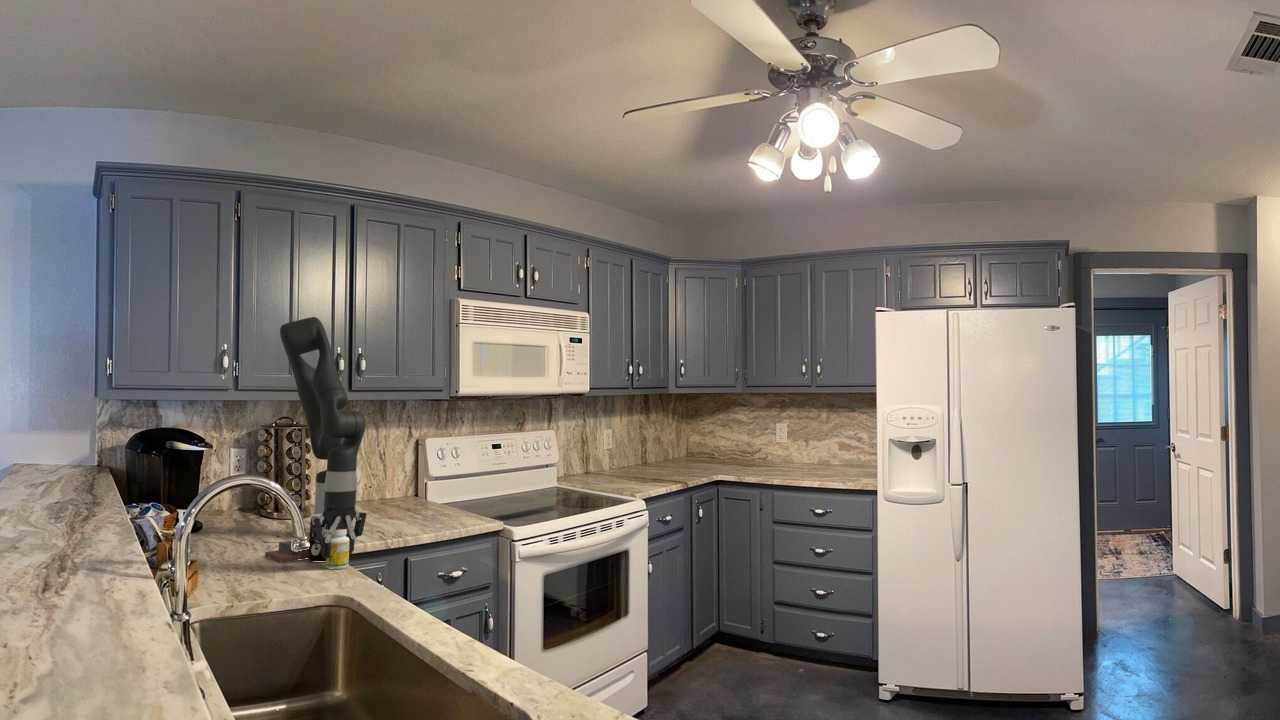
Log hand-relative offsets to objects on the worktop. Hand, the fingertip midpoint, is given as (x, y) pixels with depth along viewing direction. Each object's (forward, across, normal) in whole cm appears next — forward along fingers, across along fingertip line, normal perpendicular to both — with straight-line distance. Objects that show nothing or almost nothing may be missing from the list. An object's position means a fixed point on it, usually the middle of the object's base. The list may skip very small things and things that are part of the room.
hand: (337, 555), depth 179 cm
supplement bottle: (+3, 0, 0) cm, 3 cm away
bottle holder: (+3, 0, -20) cm, 20 cm away
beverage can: (+3, -1, -10) cm, 11 cm away
